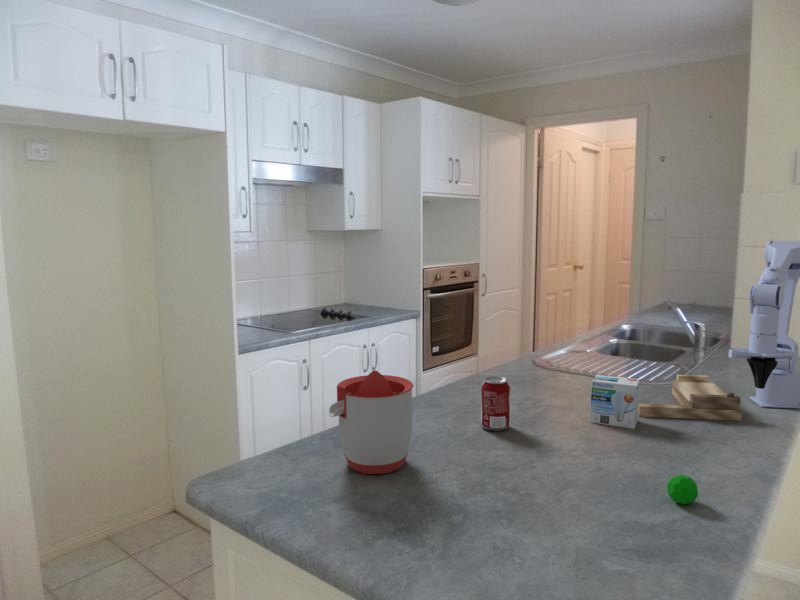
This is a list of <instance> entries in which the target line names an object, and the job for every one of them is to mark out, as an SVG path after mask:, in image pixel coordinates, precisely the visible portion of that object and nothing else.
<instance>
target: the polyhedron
mask: <svg viewBox="0 0 800 600" xmlns="http://www.w3.org/2000/svg"><path fill="white" fill-rule="evenodd" d="M666 484H667V486H666V488H667V494H668V496H669V497H670V499H671V500H672V501H674V502H675V503H678V504H681V505H686V504H690V503H692V502H696V500H697V498H698V496H699V491H698V485H697V483H696V482H695V481H694V479H693V478H691V477H690V476H688V475H685V474H679V475H676V476H673V477H671V478H670V479H669V481H668V482H667V483H666Z"/></svg>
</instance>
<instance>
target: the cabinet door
mask: <svg viewBox="0 0 800 600" xmlns="http://www.w3.org/2000/svg"><path fill="white" fill-rule="evenodd" d="M726 393H727V395H707V394H690V406H691V407H692V408H707V409H732V410H740V409H741V400H742V399H741V397H740V396H739V395H735V393H734V392H726Z"/></svg>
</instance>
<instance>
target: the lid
mask: <svg viewBox="0 0 800 600" xmlns="http://www.w3.org/2000/svg"><path fill="white" fill-rule="evenodd" d="M671 384H672V385H673V386H674V387H675V388H676V389H677V390H678V391H679V392H680V393H681V394H682V395H683V396H684V397H685V398H686V399H687V400H688V401H689V402H690V394H707V395H727V393H728V392H726V391H725V390H723V389H722V388H721V387H719V386H718V385H717V384H716V383H714V382H713V381H711V380H710V376H709V375H704V374H703V375H697V374H693V375H692V374H691V375H690V374H676V379H672V383H671Z"/></svg>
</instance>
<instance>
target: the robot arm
mask: <svg viewBox="0 0 800 600" xmlns="http://www.w3.org/2000/svg"><path fill="white" fill-rule="evenodd" d="M764 259H765V264H766V267H765V269H763V271H762V273H761V274H760V278H759V279H758V281H757V283H755V285H752V286H751V288H750V290H749V306H750V309H749V314H751V316H750V317H751V319H750V329H749V332H750V333H749V342H748V343H749V344H748V348H736V349H735V348H734V349H733V348H732V349H731V348H729V349H728V356H727V357H728V358H730V359H746V361H747V363H748V366H749V368H750V371H751V374H752V377H753V383H754V387H756V390H755V396H753V395H751V396H749V399H750V400H751V401H753V402H754V403H755V404H757V405H758V406H760V407H762V408H776V409H777V408H780V409H781V408H782V409H783V408H784V409H800V375H799V373H797V372H795V371H796V370H797V368H798V363H799V349H800V348H799V345H798V342H797V341H795V340H794V339H793V338H791V337H790V336H789V331H790V328H791V327H790V325H791V319H792V315H793V314H792V313H793V307H794V300H795V294H796V289H797V284H798V283H799V280H800V240H794V241H793V240H773V239H772V240H771V239H769V240H768V242H766V245H765V251H764Z"/></svg>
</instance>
